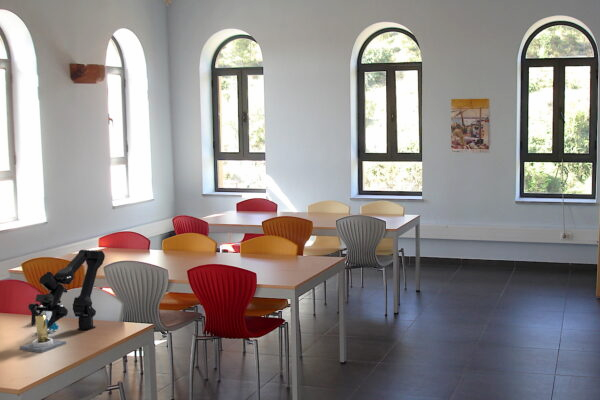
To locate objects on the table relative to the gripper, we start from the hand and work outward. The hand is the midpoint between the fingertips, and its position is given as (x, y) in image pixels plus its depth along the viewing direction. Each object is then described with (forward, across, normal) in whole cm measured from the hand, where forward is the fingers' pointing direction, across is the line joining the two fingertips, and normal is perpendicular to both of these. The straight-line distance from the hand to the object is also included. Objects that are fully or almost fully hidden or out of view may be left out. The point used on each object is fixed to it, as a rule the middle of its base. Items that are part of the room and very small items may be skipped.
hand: (39, 326), depth 345 cm
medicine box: (-20, -30, +34) cm, 50 cm away
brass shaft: (+5, 0, +7) cm, 9 cm away
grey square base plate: (+6, 0, +8) cm, 10 cm away
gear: (-8, -15, +22) cm, 28 cm away
